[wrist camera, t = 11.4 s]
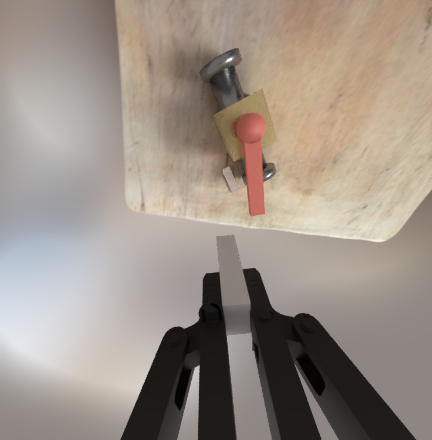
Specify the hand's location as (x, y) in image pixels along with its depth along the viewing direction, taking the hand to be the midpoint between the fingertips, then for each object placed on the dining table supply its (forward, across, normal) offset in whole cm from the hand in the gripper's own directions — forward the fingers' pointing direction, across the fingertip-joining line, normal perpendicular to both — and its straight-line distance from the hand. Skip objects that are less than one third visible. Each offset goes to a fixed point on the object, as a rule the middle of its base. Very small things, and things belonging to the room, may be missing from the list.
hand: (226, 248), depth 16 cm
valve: (+23, +4, +7) cm, 25 cm away
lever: (+14, +5, +3) cm, 16 cm away
